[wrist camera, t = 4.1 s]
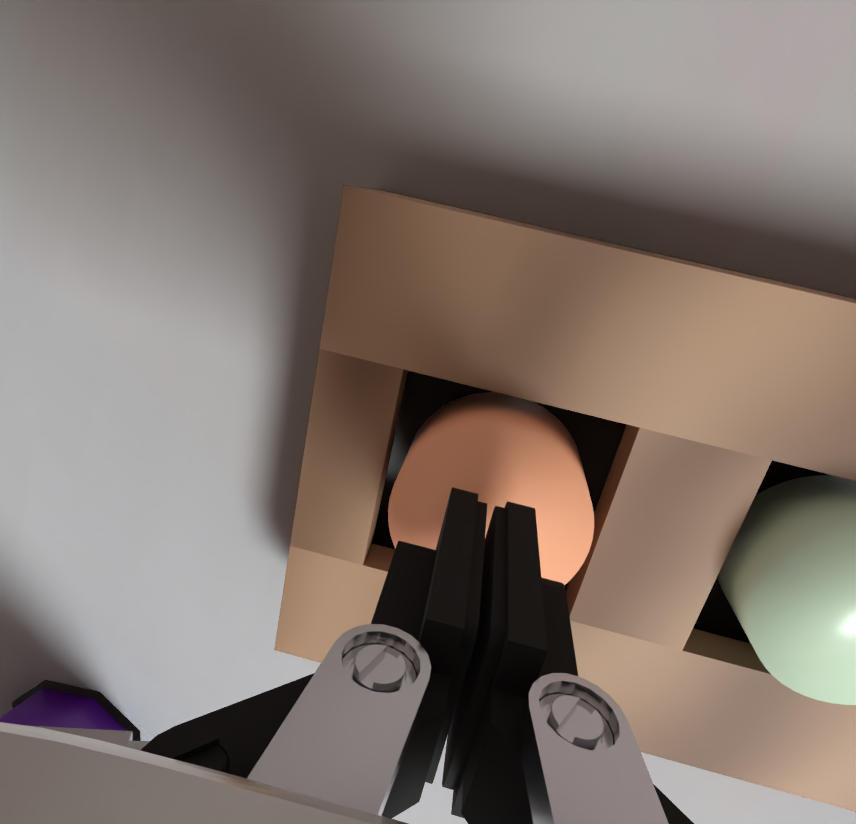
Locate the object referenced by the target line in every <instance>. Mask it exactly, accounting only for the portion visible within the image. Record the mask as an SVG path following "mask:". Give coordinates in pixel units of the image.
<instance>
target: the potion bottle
mask: <svg viewBox="0 0 856 824" xmlns="http://www.w3.org/2000/svg"><path fill="white" fill-rule="evenodd" d="M12 704H13V709H11V710H10V711H9V712H7V713H6V714H4V715H3V716H2V717H0V722H3V723H11V724H18V725H27V726H46V727H64V728H83V729H101V730H120V731H133V734H132V741H140V731H139V730H138V729H137V728H136V727H134V726H133V725H132V724H131V723H130V722H129V721H128V720H127V719H126V718H125V717H124V716H123V715H122V714H121V713H120V712H119V711H118V710H117V709H116V708H115V707H114V706H113V705H112V704H111V703H110V702H109V701H108V700H107V699H106V698H105V697H104V696H103V695H102V694H101V693H99V692H95V691H91V690H87V689H82V688H78V687H73V686H69V685H64V684H60V683H55V682H51V681H47V680H45V681H43V682H42V683H40V684H39V685H37V686H36V687H34V688H33V689H31V690H30V691H29V692H27V693H26V694H24V695H23V696H21V697H20V698H18V699H17V700H15V701H14V702H12Z"/></svg>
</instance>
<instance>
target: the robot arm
mask: <svg viewBox="0 0 856 824" xmlns="http://www.w3.org/2000/svg"><path fill="white" fill-rule="evenodd" d="M486 517H487V503H483V502H479V501H478V494H477V493H473V492H469V491H465V490H461V489H457V488H453V487H452V489H451V492H450V496H449V500H448V504H447V508H446V512H445V515H444V519H443V523H442V527H441V531H440V535H439V539H438V543H437V547H436V550H434V549H430V548H426V547H422V546H418V545H415V544H411V543H407V542H403V541H398V543H397V546H396V549H395V552H394V555H393V558H392V561H391V564H390V567H389V570H388V573H387V576H386V579H385V582H384V585H383V588H382V591H381V594H380V597H379V600H378V603H377V606H376V609H375V612H374V615H373V618H372V622H371V624H366V625H361V626H356V627H354V628H352V629H350V630H348V631H346V632H344V633H343V634H342V635H341V636H340V637H339V638H338V639H337V640H336V641H335V643H334V644H333V646H332V647H331V649H330V650H329V652H328V653H327V655H326V657H325V658H324V660H323V661H322V663H321V664H320V666H319V667H318V669H317V670H316V672H315V673H314V674H311V675H309V676H306V677H303V678H301V679H298V680H296V681H293V682H290V683H288V684H285V685H282V686H280V687H277V688H274V689H272V690H269V691H267V692H264V693H261V694H259V695H256V696H253V697H251V698H248V699H245V700H243V701H240V702H238V703H235V704H232V705H230V706H227V707H224V708H222V709H219V710H216V711H214V712H211V713H209V714H206V715H203V716H201V717H198V718H195V719H193V720H190V721H187V722H185V723H182V724H180V725H177V726H174V727H172V728H171V729H169V730H167V731H165V732H163V733H161V734H159V735H157V736H156V737H155V738H154V739H152V740H151V741H150V742H149V741H132V734H133V731H120V730H101V729H83V728H64V727H46V726H27V725H18V724H11V723H3V722H0V824H408V823H404V822H401V821H397V820H394V819H392V818H393V817H395V816H396V815H398V814H400V813H401V812H403V811H405V810H406V809H408V808H410V807H411V806H413V805H415V804H416V803H418V802H419V800H420V797H421V794H422V790H423V787H424V784H425V782H428V783H431V784H432V783H433V780H434V777H435V774H436V771H437V767H438V764H439V761H440V758H441V754H442V751H443V748H444V744H445V741H446V738H447V745H446V754H445V763H444V771H443V781H442V786H443V787H445V788H449V789H453V790H454V791H453V802H452V812H451V814H452V815H455V816H459V817H463V818H465V820H466V821H467V822H468V824H694V823H693V822H692V821H691V820H690V819H689V818H688V817H687V816H686V815H684V814H683V813H682V812H681V811H680V810H679V809H678V808H677V807H676V806H675V805H674V804H673V803H672V802H671V801H670V800H669V799H668V798H667V797H666V796H665V795H664V794H663V793H662V792H661V791H660V790H659V789H658V788H657V787H656V786H655V785H654V784H653V783H652V780H651V778H650V775H649V772H648V770H647V767H646V765H645V762H644V760H643V757H642V755H641V752H640V750H639V747H638V745H637V742H636V739H635V737H634V734H633V732H632V729H631V727H630V724H629V722H628V720H627V718H626V716H625V714H624V712H623V711H622V709H621V707H620V706H619V705H618V704H617V703H616V702H615V700H614V699H613V698H612V697H611V696H610V695H609V694H608V693H606V692H605V691H604V690H602V689H601V688H600V687H598V686H597V685H596V684H594V683H592V682H590V681H588V680H586V679H584V678H582V677H578V670H577V664H576V657H575V650H574V643H573V637H572V630H571V623H570V617H569V610H568V603H567V596H566V590H565V586H564V584H563V583H561V582H557V581H553V580H549V579H546V578H542V577H541V568H540V557H539V545H538V534H537V523H536V511H535V508H532V507H528V506H524V505H520V504H516V503H512V502H508V501H507V503H506V505H505V508H503V507H499V506H495V507H494V510H493V513H492V517H491V520H490V524H489V527H488V531H487V534H486V538H485V531H486ZM447 735H448V737H447Z"/></svg>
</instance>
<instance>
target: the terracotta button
mask: <svg viewBox="0 0 856 824" xmlns="http://www.w3.org/2000/svg"><path fill="white" fill-rule="evenodd" d="M452 487H453V488H457V489H461V490H465V491H469V492H473V493H477V494H478V501H479V502H483V503H487V517H486V531H485V538H486V534H487V531H488V527H489V524H490V520H491V517H492V513H493V510H494V507H495V506H499V507H503V508H505V505H506V503H507V501H508V502H512V503H516V504H520V505H524V506H528V507H532V508H535V511H536V523H537V534H538V545H539V557H540V568H541V577H542V578H546V579H549V580H553V581H557V582H561V583H563V584H564V585H565V584H567V583H568V582H569V581H570V580H571V579H572V578H573V576H574V575H575V574H576V573H577V572H578V571H579V569H580V567H581V566H582V564H583V563H584V561H585V559H586V557H587V555H588V553H589V550H590V547H591V543H592V540H593V533H594V512H593V507H592V501H591V498H590V494H589V490H588V486H587V482H586V478H585V474H584V470H583V467H582V463H581V459H580V455H579V452H578V449H577V446H576V444H575V442H574V440H573V438H572V436H571V434H570V433H569V432H568V430H567V429H566V427H565V426H564V425H563V424H562V423H561V422H560V421H559V420H558V418H557V417H555V416H554V415H553V414H552V413H550V412H549V411H548V410H547V409H545V408H543V407H542V406H540V405H539V404H537V403H534V402H532V401H530V400H526V399H522V398H518V397H514V396H510V395H505V394H501V393H478V394H473V395H468V396H465V397H462V398H459V399H456V400H454V401H452V402H450V403H448V404H446V405H444V406H443V407H441V408H440V409H438V410H437V411H436V412H435V413H433V414H432V415H431V416H430V417H429V418H428V419H427V420H426V421H425V422H424V424H423V425H422V426H421V427H420V429H419V430H418V432H417V434H416V435H415V437H414V440H413V442H412V444H411V446H410V448H409V451H408V453H407V456H406V458H405V460H404V463H403V465H402V467H401V470H400V472H399V474H398V477H397V479H396V481H395V484H394V486H393V489H392V492H391V496H390V500H389V507H388V523H389V530H390V535H391V538H392V541H393V544H394V547H395V549H396V546H397V543H398V541H403V542H407V543H411V544H415V545H418V546H422V547H426V548H430V549H434V550H436V547H437V543H438V539H439V535H440V531H441V527H442V523H443V519H444V515H445V512H446V508H447V504H448V500H449V496H450V492H451V489H452Z"/></svg>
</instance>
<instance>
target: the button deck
mask: <svg viewBox="0 0 856 824" xmlns="http://www.w3.org/2000/svg"><path fill="white" fill-rule="evenodd" d="M408 371H412V372H416V373H420V374H424V375H428V376H433V377H437V378H441V379H445V380H449V381H453V382H457V383H461V384H465V385H469V386H473V387H477V388H481V389H485V390H489V391H493V392H497V393H501V394H505V395H510V396H514V397H518V398H522V399H526V400H530V401H534V402H538V403H542V404H546V405H550V406H554V407H558V408H562V409H566V410H570V411H574V412H578V413H582V414H587V415H591V416H595V417H599V418H603V419H607V420H611V421H615V422H619V423H623V424H627V425H626V428H625V430H624V433H623V436H622V439H621V441H620V444H619V447H618V450H617V452H616V455H615V458H614V461H613V463H612V466H611V469H610V472H609V474H608V477H607V480H606V483H605V485H604V488H603V491H602V494H601V497H600V499H599V502H598V505H597V508H596V510H595V513H594V533H593V540H592V543H591V547H590V550H589V553H588V555H587V557H586V559H585V561H584V563H583V564H582V566H581V567H580V569H579V571H578V572H577V573H576V574H575V575H574V576H573V578H572V579H571V580H570V582H569V585H568V588H567V590H566V596H567V603H568V610H569V617H570V623H571V630H572V637H573V643H574V650H575V657H576V664H577V670H578V677H582V678H584V679H586V680H588V681H590V682H592V683H594V684H596V685H597V686H598V687H600V688H601V689H602V690H604V691H605V692H606V693H608V694H609V695H610V696H611V697H612V698H613V699H614V700H615V702H616V703H617V704H618V705H619V706H620V707H621V709H622V711H623V712H624V714H625V716H626V718H627V720H628V722H629V724H630V727H631V729H632V732H633V734H634V737H635V739H636V742H637V745H638V747H639V750H640V752H643V753H647V754H650V755H654V756H658V757H661V758H665V759H668V760H672V761H676V762H679V763H683V764H686V765H690V766H693V767H697V768H701V769H704V770H708V771H711V772H715V773H719V774H722V775H726V776H729V777H733V778H737V779H740V780H744V781H747V782H751V783H755V784H758V785H762V786H765V787H769V788H773V789H776V790H780V791H783V792H787V793H791V794H794V795H798V796H801V797H805V798H808V799H812V800H816V801H819V802H823V803H826V804H830V805H834V806H837V807H841V808H844V809H848V810H852V811H855V812H856V705H843V704H834V703H828V702H824V701H819V700H816V699H813V698H809V697H806V696H804V695H802V694H800V693H797V692H795V691H793V690H792V689H790V688H788V687H787V686H785V685H783V684H782V683H781V682H780V681H778V680H777V679H776V678H775V677H773V676H772V674H771V673H770V672H769V671H768V670H767V669H766V668H765V666H764V665H763V664H762V662H761V661H760V659H759V657H758V655H757V654H756V652H755V650H754V648H753V646H752V644H750V643H746V642H742V641H738V640H735V639H731V638H727V637H723V636H719V635H716V634H712V633H708V632H704V631H701V630H697V629H693V627H694V625H695V623H696V621H697V618H698V616H699V614H700V612H701V610H702V608H703V606H704V604H705V601H706V599H707V597H708V595H709V593H710V591H711V589H712V587H713V584H714V582H715V580H716V578H717V576H718V574H719V572H720V570H721V568H722V565H723V563H724V561H725V559H726V557H727V555H728V553H729V551H730V548H731V546H732V544H733V542H734V540H735V538H736V536H737V534H738V531H739V529H740V527H741V525H742V523H743V521H744V519H745V517H746V514H747V512H748V510H749V508H750V506H751V504H752V502H753V500H754V497H755V495H756V493H757V491H758V489H759V487H760V485H761V483H762V481H763V478H764V476H765V474H766V472H767V470H768V468H769V466H770V464H771V461H772V460H773V461H777V462H781V463H785V464H789V465H793V466H797V467H801V468H805V469H809V470H814V471H818V472H822V473H826V474H830V475H834V476H838V477H842V478H846V479H850V480H854V481H856V299H854V298H849V297H845V296H840V295H836V294H832V293H827V292H823V291H819V290H814V289H810V288H806V287H801V286H797V285H793V284H788V283H784V282H779V281H775V280H771V279H766V278H762V277H758V276H753V275H749V274H745V273H740V272H736V271H731V270H727V269H723V268H718V267H714V266H710V265H705V264H701V263H697V262H692V261H688V260H684V259H679V258H675V257H670V256H666V255H662V254H657V253H653V252H649V251H644V250H640V249H636V248H631V247H627V246H622V245H618V244H614V243H609V242H605V241H601V240H596V239H592V238H588V237H583V236H579V235H575V234H570V233H566V232H561V231H557V230H553V229H548V228H544V227H540V226H535V225H531V224H527V223H522V222H518V221H513V220H509V219H505V218H500V217H496V216H492V215H487V214H483V213H479V212H474V211H470V210H466V209H461V208H457V207H452V206H448V205H444V204H439V203H435V202H431V201H426V200H422V199H418V198H413V197H409V196H404V195H400V194H396V193H391V192H387V191H383V190H378V189H370V188H360V187H350V186H343V193H342V200H341V206H340V213H339V220H338V227H337V233H336V240H335V247H334V253H333V260H332V267H331V273H330V280H329V287H328V294H327V300H326V307H325V314H324V320H323V327H322V334H321V341H320V347H319V354H318V361H317V367H316V374H315V381H314V387H313V394H312V401H311V408H310V414H309V421H308V428H307V434H306V441H305V448H304V455H303V461H302V468H301V475H300V481H299V488H298V495H297V502H296V508H295V515H294V522H293V528H292V535H291V542H290V548H289V555H288V562H287V569H286V575H285V582H284V589H283V595H282V602H281V609H280V616H279V622H278V629H277V636H276V642H275V649H274V650H277V651H280V652H284V653H287V654H291V655H295V656H298V657H302V658H305V659H309V660H313V661H316V662H320V663H322V661H323V660H324V658H325V657H326V655H327V653H328V652H329V650H330V649H331V647H332V646H333V644H334V643H335V641H336V640H337V639H338V638H339V637H340V636H341V635H342V634H343V633H344V632H346V631H348V630H350V629H352V628H354V627H356V626H361V625H366V624H371V622H372V618H373V615H374V612H375V609H376V606H377V603H378V600H379V597H380V594H381V591H382V588H383V585H384V582H385V579H386V576H387V573H388V570H389V567H390V564H391V561H392V558H393V555H394V552H395V549H391V548H387V547H383V546H380V545H376V544H372V541H373V536H374V531H375V527H376V522H377V517H378V512H379V508H380V503H381V498H382V493H383V488H384V484H385V479H386V474H387V469H388V464H389V460H390V455H391V450H392V445H393V440H394V436H395V431H396V426H397V421H398V416H399V412H400V407H401V402H402V397H403V392H404V388H405V383H406V378H407V373H408Z"/></svg>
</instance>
